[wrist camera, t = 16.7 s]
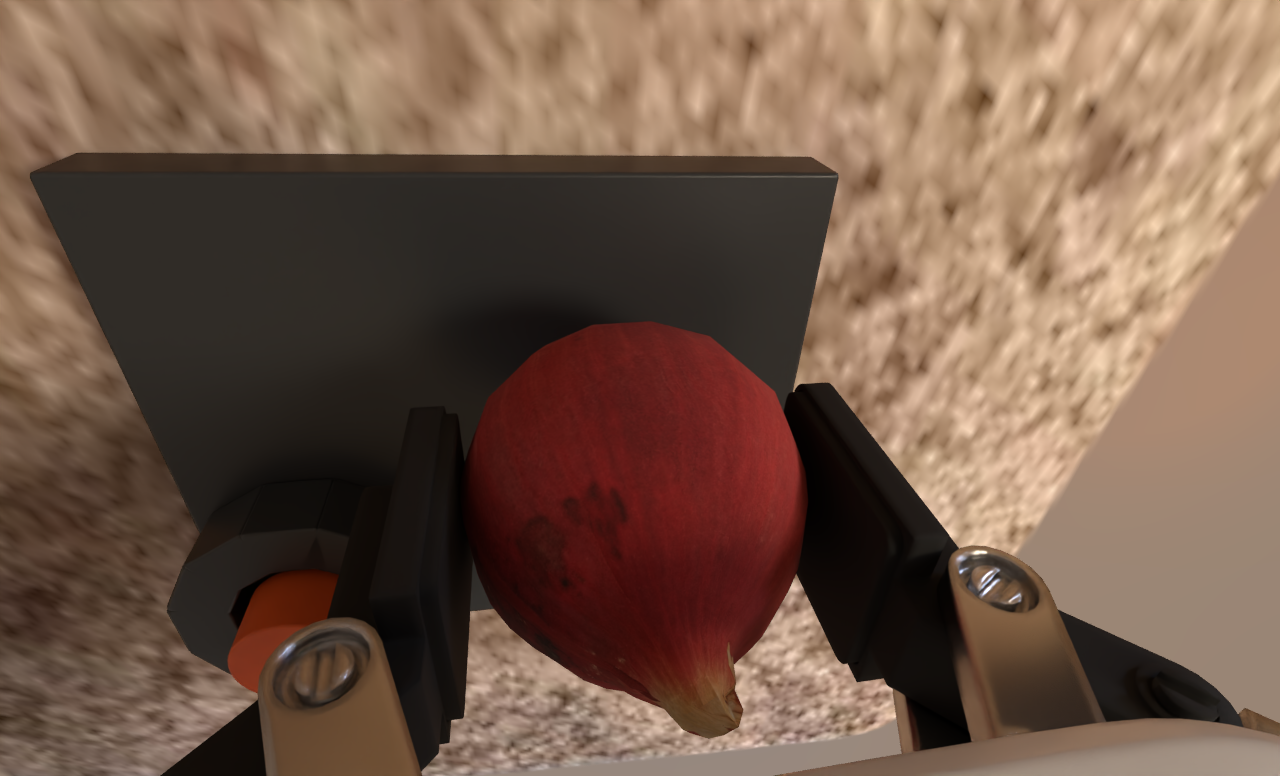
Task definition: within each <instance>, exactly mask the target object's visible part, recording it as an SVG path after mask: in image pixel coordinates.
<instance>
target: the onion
mask: <svg viewBox="0 0 1280 776" xmlns="http://www.w3.org/2000/svg"><path fill="white" fill-rule="evenodd" d="M460 502H461V509H462V517H463V523H464V527H465V531H466V534H467V538H468V542H469V545H470V549H471V553H472V556H473V560H474V564H475V567H476V571H477V574H478V577H479V579H480V581H481V583H482V586H483V588H484V590H485V593H486V595H487V597H488V599H489V602H490V604H491V605H492V607H493V608H494V609H495V610H496V612H497V613H498V614H499V615H500V616H501V618H502V619H503V620H504V621H505V623H506V624H507V625H508V626H509V628H510V629H512V630H513V631H514V632H515V633H516V634H518V635H519V636H520V637H521V638H523V639H524V640H525V641H526V642H527V643H529V644H530V645H531V646H532V647H534V648H535V649H537V650H538V651H540V652H542V653H543V654H545V655H546V656H548V657H549V658H551V659H553V660H554V661H556V662H557V663H559V664H560V665H562V666H563V667H565V668H566V669H568V670H569V671H571V672H572V673H574V674H575V675H577V676H578V677H580V678H581V679H583V680H584V681H587V682H590V683H593V684H595V685H598V686H601V687H603V688H606V689H612V690H619V691H625V692H626V693H628V694H630V695H632V696H633V697H635V698H638V699H640V700H643V701H645V702H648V703H650V704H653V705H656V706H658V707H661V708H663V709H665V710H666V711H667V712H668V714H669V715H670V716H671V717H672V718H673V719H674V720H675V721H676V722H677V723H678V725H679V726H680V727H681V728H682V729H683V730H685V731H687V732H689V733H692V734H695V735H699V736H702V737H705V738H708V739H709V738H713V737H718V736H722V735H725V734H727V733H728V732H730V731H732V730H734V729H736V728H738V727H739V724H740V720H741V717H742V713H743V708H742V706H741V703H740V701H739V699H738V696H737V694H736V692H735V685H736V679H735V671H734V664H735V663H736V662H737V661H738V660H739V659H740V658H741V657H742V656H744V655H745V654H746V653H747V652H748V651H749V650H750V649H751V648H752V647H753V646H754V645H755V644H756V643H757V641H758V640H759V639H760V638H761V637H762V636H763V634H764V632H765V631H766V629H767V627H768V626H769V624H770V622H771V620H772V619H773V617H774V615H775V613H776V612H777V610H778V608H779V606H780V605H781V603H782V601H783V600H784V598H785V596H786V594H787V593H788V591H789V588H790V586H791V584H792V582H793V579H794V577H795V575H796V572H797V570H798V565H799V560H800V555H801V550H802V544H803V537H804V530H805V522H806V515H807V508H808V492H807V480H806V471H805V468H804V465H803V462H802V459H801V456H800V453H799V450H798V447H797V444H796V442H795V439H794V437H793V434H792V432H791V429H790V427H789V425H788V422H787V420H786V417H785V415H784V412H783V410H782V408H781V405H780V403H779V400H778V398H777V396H776V393H775V391H774V390H772V389H771V388H770V387H769V386H768V385H767V384H765V383H764V382H763V381H762V380H761V379H760V378H758V377H757V376H756V375H755V374H754V373H753V372H751V371H750V370H749V369H748V368H747V367H746V366H744V365H743V364H742V363H741V362H740V361H739V360H737V359H736V358H735V357H734V356H733V355H732V354H730V353H729V352H728V351H727V350H726V349H724V348H723V347H722V346H721V345H720V344H718V343H717V342H716V341H715V340H714V339H712V338H711V337H710V336H707V335H703V334H699V333H695V332H691V331H687V330H684V329H680V328H676V327H672V326H668V325H664V324H660V323H656V322H652V321H647V322H630V323H613V324H596V325H591V326H589V327H586V328H584V329H582V330H579V331H577V332H575V333H572V334H570V335H568V336H566V337H563V338H561V339H559V340H556V341H554V342H552V343H549V344H547V345H545V346H544V347H542V348H541V349H539V350H538V351H536V352H535V353H534V354H532V355H531V356H530V357H529V358H528V359H527V360H526V361H525V362H524V363H523V364H522V365H521V366H520V367H519V368H518V369H517V370H516V371H515V372H514V373H513V374H512V375H511V376H510V377H509V378H508V379H507V380H506V381H505V382H504V383H503V384H502V385H501V386H500V387H499V388H498V389H497V390H496V391H494V392H493V393H492V394H491V395H490V396H489V397H488V399H487V402H486V405H485V407H484V410H483V413H482V415H481V418H480V421H479V423H478V426H477V429H476V431H475V434H474V437H473V439H472V442H471V444H470V447H469V450H468V453H467V457H466V460H465V464H464V467H463V471H462V475H461V479H460Z"/></svg>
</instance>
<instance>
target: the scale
mask: <svg viewBox="0 0 1280 776" xmlns="http://www.w3.org/2000/svg"><path fill="white" fill-rule="evenodd" d="M30 179H31V181H32V183H33V185H34V187H35V189H36V192H37V194H38V196H39V198H40V200H41V202H42V204H43V206H44V208H45V210H46V213H47V215H48V217H49V219H50V221H51V223H52V225H53V227H54V229H55V231H56V234H57V236H58V238H59V240H60V242H61V244H62V246H63V248H64V250H65V252H66V254H67V257H68V259H69V261H70V263H71V265H72V267H73V269H74V271H75V273H76V275H77V278H78V280H79V282H80V284H81V286H82V288H83V290H84V292H85V294H86V296H87V299H88V301H89V303H90V305H91V307H92V309H93V311H94V313H95V315H96V317H97V320H98V322H99V324H100V326H101V328H102V330H103V332H104V334H105V336H106V338H107V340H108V343H109V345H110V347H111V349H112V351H113V353H114V355H115V357H116V359H117V361H118V364H119V366H120V368H121V370H122V372H123V374H124V376H125V378H126V380H127V382H128V385H129V387H130V389H131V391H132V393H133V395H134V397H135V399H136V401H137V403H138V406H139V408H140V410H141V412H142V414H143V416H144V418H145V420H146V422H147V424H148V426H149V429H150V431H151V433H152V435H153V437H154V439H155V441H156V443H157V445H158V447H159V450H160V452H161V454H162V456H163V458H164V460H165V462H166V464H167V466H168V468H169V471H170V473H171V475H172V477H173V479H174V481H175V483H176V485H177V487H178V489H179V491H180V494H181V496H182V498H183V500H184V502H185V504H186V506H187V508H188V510H189V512H190V515H191V517H192V519H193V521H194V523H195V525H196V527H197V529H198V531H199V533H200V535H199V537H198V539H197V541H196V542H195V544H194V546H193V548H192V550H191V552H190V553H189V555H188V557H187V559H186V561H185V563H184V564H183V566H182V569H181V571H180V574H179V576H178V579H177V582H176V584H175V587H174V589H173V592H172V595H171V597H170V600H169V602H168V605H167V613H168V615H169V617H170V619H171V620H172V622H173V624H174V626H175V627H176V629H177V631H178V633H179V634H180V636H181V638H182V640H183V641H184V643H185V645H186V647H187V648H188V650H189V651H191V653H192V654H194V655H195V656H197V657H199V658H201V659H203V660H205V661H207V662H208V663H210V664H212V665H214V666H216V667H218V668H220V669H221V670H223V671H225V672H227V673H229V674H231V673H230V671H229V668H228V655H229V652H230V649H231V647H232V644H233V642H234V639H235V637H236V634H237V632H238V629H239V627H240V625H241V622H242V620H243V617H244V615H245V612H246V610H247V607H248V605H249V603H250V600H251V598H252V595H253V593H254V591H255V590H256V588H257V587H258V586H259V585H260V584H261V583H262V582H264V581H265V580H266V579H268V578H269V577H271V576H273V575H275V574H277V573H280V572H287V571H297V570H307V569H317V570H321V571H325V572H329V573H334V574H338V575H339V573H340V569H341V565H342V562H343V558H344V555H345V551H346V547H347V544H348V540H349V536H350V533H351V529H352V526H353V522H354V518H355V515H356V511H357V508H358V504H359V500H360V497H361V494H362V492H363V490H364V489H365V488H366V487H371V486H383V485H393V484H394V479H395V475H396V470H397V466H398V461H399V457H400V452H401V447H402V443H403V438H404V434H405V429H406V425H407V420H408V416H409V412H410V409H411V408H416V407H433V406H444V407H445V409H446V414H453V413H457V414H458V418H459V425H460V432H461V439H462V446H463V454H464V461H465V460H466V457H467V453H468V450H469V447H470V444H471V442H472V439H473V437H474V434H475V431H476V429H477V426H478V423H479V421H480V418H481V415H482V413H483V410H484V407H485V405H486V402H487V399H488V397H489V396H490V395H491V394H492V393H493V392H494V391H496V390H497V389H498V388H499V387H500V386H501V385H502V384H503V383H504V382H505V381H506V380H507V379H508V378H509V377H510V376H511V375H512V374H513V373H514V372H515V371H516V370H517V369H518V368H519V367H520V366H521V365H522V364H523V363H524V362H525V361H526V360H527V359H528V358H529V357H530V356H531V355H532V354H534V353H535V352H536V351H538V350H539V349H541V348H542V347H544V346H545V345H547V344H549V343H552V342H554V341H556V340H559V339H561V338H563V337H566V336H568V335H570V334H572V333H575V332H577V331H579V330H582V329H584V328H586V327H589V326H591V325H596V324H613V323H630V322H647V321H652V322H656V323H660V324H664V325H668V326H672V327H676V328H680V329H684V330H687V331H691V332H695V333H699V334H703V335H707V336H710V337H711V338H712V339H714V340H715V341H716V342H717V343H718V344H720V345H721V346H722V347H723V348H724V349H726V350H727V351H728V352H729V353H730V354H732V355H733V356H734V357H735V358H736V359H737V360H739V361H740V362H741V363H742V364H743V365H744V366H746V367H747V368H748V369H749V370H750V371H751V372H753V373H754V374H755V375H756V376H757V377H758V378H760V379H761V380H762V381H763V382H764V383H765V384H767V385H768V386H769V387H770V388H771V389H772V390H774V391H775V393H776V396H777V398H778V400H779V403H780V405H781V408H782V410H783V411H784V407H785V402H786V398H787V395H788V394H789V393H790V392H793V387H794V383H795V378H796V373H797V369H798V364H799V359H800V355H801V350H802V345H803V341H804V336H805V331H806V327H807V322H808V317H809V313H810V308H811V303H812V298H813V294H814V289H815V284H816V280H817V275H818V270H819V266H820V261H821V256H822V252H823V247H824V242H825V238H826V233H827V228H828V224H829V219H830V214H831V210H832V205H833V200H834V196H835V191H836V186H837V182H838V173H836V172H835V171H833V170H831V169H830V168H828V167H827V166H825V165H823V164H822V163H820V162H818V161H817V160H815V159H814V158H812V157H723V156H537V155H351V154H164V153H76V154H74V155H71V156H69V157H66V158H64V159H62V160H59V161H57V162H55V163H52V164H50V165H48V166H45V167H43V168H40V169H38V170H36V171H33V172H31V173H30ZM486 609H494V608H493V607H492V605H491V604H490V602H489V599H488V597H487V595H486V593H485V590H484V588H483V586H482V583H481V581H480V579H479V577H478V574H477V571H476V567H475V564H474V560H473V569H472V587H471V605H470V611H478V610H486ZM231 675H232V674H231Z"/></svg>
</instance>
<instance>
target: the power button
mask: <svg viewBox="0 0 1280 776" xmlns="http://www.w3.org/2000/svg"><path fill="white" fill-rule="evenodd" d="M338 576H339V575H338V574H334V573H329V572H325V571H321V570H317V569H307V570H297V571H287V572H280V573H277V574H275V575H273V576H271V577H269V578H268V579H266V580H265V581H264V582H262V583H261V584H260V585H259V586H258V587H257V588H256V590H255V591H254V593H253V595H252V598H251V600H250V603H249V605H248V607H247V610H246V612H245V615H244V617H243V620H242V622H241V625H240V627H239V629H238V632H237V634H236V637H235V639H234V642H233V644H232V647H231V649H230V652H229V655H228V668H229V671H230V673H231V674H232V676H233V677H234V678H235V680H236V681H237V682H239V683H240V684H241V685H242V686H244V687H246V688H247V689H249V690H251V691H253V692H256V693H257V692H258V682H259V675H260V673H261V671H262V669H263V667H264V665H265V662H266V660H267V659H268V658H269V656H270V655H271V654H272V653H273V652H274V650H275V649H276V648H277V647H278V646H279V644H281V643H282V642H283V641H284V640H286V639H287V638H288V637H290V636H291V635H292V634H293V633H295V632H296V631H298V630H300V629H302V628H304V627H306V626H308V625H310V624H312V623H314V622H318V621H322V620H325V619H327V616H328V612H329V609H330V605H331V601H332V598H333V594H334V591H335V587H336V583H337V580H338Z"/></svg>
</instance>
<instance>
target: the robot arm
mask: <svg viewBox="0 0 1280 776" xmlns="http://www.w3.org/2000/svg"><path fill="white" fill-rule="evenodd" d="M783 412H784V415H785V417H786V420H787V422H788V425H789V427H790V429H791V432H792V434H793V437H794V439H795V442H796V444H797V447H798V450H799V453H800V456H801V459H802V462H803V465H804V468H805V471H806V480H807V492H808V508H807V515H806V522H805V530H804V537H803V544H802V550H801V555H800V560H799V565H798V570H797V572H796V574H797V576H798V578H799V580H800V582H801V584H802V586H803V588H804V591H805V593H806V595H807V597H808V599H809V601H810V603H811V605H812V607H813V609H814V611H815V614H816V616H817V618H818V620H819V622H820V624H821V626H822V628H823V630H824V632H825V634H826V637H827V639H828V641H829V643H830V645H831V647H832V649H833V651H834V653H835V655H836V657H837V659H838V660H839V661H840V662H841V663H843V664H847V663H848V665H849V667H850V669H851V671H852V673H853V675H854V677H855V679H856V681H857V682H861V681H868V680H875V679H882V678H884V680H885V682H886V684H887V685H888V686H889V687H891V688H893V698H894V705H895V712H896V718H897V725H898V731H899V738H900V746H901V752H902V754H898V755H892V756H887V757H880V758H874V759H868V760H862V761H856V762H851V763H845V764H839V765H833V766H827V767H822V768H816V769H810V770H804V771H798V772H793V773H786V774H780V775H775V776H1280V723H1278V722H1275V721H1273V720H1271V719H1269V718H1266V717H1264V716H1262V715H1260V714H1258V713H1255V712H1253V711H1251V710H1249V709H1246V708H1245V709H1243V710H1242V711H1241V712H1240V713H1239V714H1237V712H1236V711H1235V709H1234V708H1233V706H1232V705H1231V703H1230V702H1229V701H1228V700H1227V699H1226V698H1225V697H1224V696H1223V695H1222V694H1221V693H1220V692H1219V691H1218V690H1217V689H1216V688H1215V687H1214V686H1212V685H1211V684H1210V683H1208V682H1207V681H1206V680H1204V679H1203V678H1202V677H1200V676H1199V675H1197V674H1196V673H1194V672H1192V671H1190V670H1188V669H1186V668H1185V667H1183V666H1181V665H1179V664H1177V663H1175V662H1172V661H1170V660H1168V659H1166V658H1164V657H1162V656H1159V655H1157V654H1155V653H1153V652H1150V651H1148V650H1146V649H1144V648H1141V647H1139V646H1137V645H1135V644H1133V643H1131V642H1128V641H1126V640H1124V639H1121V638H1119V637H1117V636H1115V635H1113V634H1111V633H1108V632H1106V631H1104V630H1102V629H1100V628H1097V627H1095V626H1093V625H1091V624H1088V623H1086V622H1084V621H1082V620H1080V619H1077V618H1075V617H1073V616H1071V615H1068V614H1066V613H1064V612H1062V611H1060V610H1058V609H1057V607H1056V605H1055V602H1054V600H1053V598H1052V595H1051V593H1050V591H1049V589H1048V587H1047V586H1046V584H1045V583H1044V581H1043V579H1042V578H1041V577H1040V576H1039V575H1038V574H1037V573H1036V572H1035V571H1034V570H1033V569H1032V568H1031V567H1030V566H1028V565H1027V564H1025V563H1024V562H1022V561H1021V560H1019V559H1018V558H1016V557H1014V556H1012V555H1010V554H1008V553H1006V552H1004V551H1001V550H998V549H994V548H990V547H987V546H968V547H963V548H960V549H959V548H958V547H957V545H956V544H955V543H954V542H953V540H952V539H951V538H950V536H949V534H948V533H947V532H946V530H945V529H944V528H943V527H942V525H941V524H940V523H939V521H938V520H937V519H936V518H935V516H934V515H933V514H932V512H931V511H930V510H929V509H928V507H927V506H926V505H925V504H924V502H923V501H922V500H921V498H920V497H919V496H918V495H917V493H916V492H915V491H914V489H913V488H912V487H911V486H910V484H909V483H908V482H907V480H906V479H905V478H904V477H903V475H902V474H901V473H900V472H899V470H898V469H897V468H896V466H895V465H894V464H893V463H892V461H891V460H890V459H889V457H888V456H887V455H886V454H885V452H884V451H883V450H882V448H881V447H880V446H879V445H878V443H877V442H876V441H875V440H874V438H873V437H872V436H871V434H870V433H869V432H868V431H867V429H866V428H865V427H864V425H863V424H862V423H861V422H860V420H859V419H858V418H857V416H856V415H855V414H854V413H853V411H852V410H851V409H850V407H849V406H848V405H847V404H846V402H845V401H844V400H843V399H842V397H841V396H840V395H839V393H838V392H837V391H836V390H835V388H834V387H833V386H832V385H831V384H830V383H812V384H800V385H798V386H797V388H796V389H795V392H790V393H789V394H788V395H787V398H786V402H785V407H784V411H783ZM464 464H465V461H464V454H463V446H462V439H461V432H460V425H459V418H458V414H457V413H453V414H446V409H445V407H444V406H433V407H416V408H411V409H410V412H409V416H408V420H407V425H406V429H405V434H404V438H403V443H402V447H401V452H400V457H399V461H398V466H397V470H396V475H395V479H394V484H393V485H383V486H371V487H366V488H365V489H364V490H363V492H362V494H361V497H360V500H359V504H358V508H357V511H356V515H355V518H354V522H353V526H352V529H351V533H350V536H349V540H348V544H347V547H346V551H345V555H344V558H343V562H342V565H341V569H340V573H339V576H338V580H337V583H336V587H335V591H334V594H333V598H332V601H331V605H330V609H329V612H328V616H327V619H325V620H322V621H318V622H314V623H312V624H310V625H308V626H306V627H304V628H302V629H300V630H298V631H296V632H295V633H293V634H292V635H291V636H290V637H288V638H287V639H286V640H284V641H283V642H282V643H281V644H279V646H278V647H277V648H276V649H275V650H274V652H273V653H272V654H271V655H270V656H269V658H268V659H267V660H266V662H265V665H264V667H263V669H262V671H261V673H260V675H259V682H258V692H257V693H258V700H257V701H256V702H255V703H253V704H252V705H251V706H250V707H248V708H247V709H246V710H244V711H243V712H242V713H241V714H239V715H238V716H237V717H235V718H234V719H233V720H232V721H230V722H229V723H228V724H226V725H225V726H224V727H223V728H221V729H220V730H219V731H217V732H216V733H215V734H213V735H212V736H211V737H210V738H208V739H207V740H206V741H204V742H203V743H202V744H201V745H199V746H198V747H197V748H195V749H194V750H193V751H192V752H190V753H189V754H188V755H186V756H185V757H184V758H183V759H181V760H180V761H179V762H177V763H176V764H175V765H174V766H172V767H171V768H170V769H168V770H167V771H166V772H165V773H163V774H162V775H161V776H422V773H421V771H422V770H423V769H424V768H425V767H426V766H427V765H428V764H429V763H430V762H431V761H432V760H433V758H434V757H435V756H436V755H437V754H438V753H439V744H445V743H449V741H450V728H451V720H455V719H462V718H463V717H464V709H465V693H466V675H467V658H468V640H469V622H470V605H471V587H472V569H473V556H472V553H471V549H470V545H469V542H468V538H467V534H466V531H465V527H464V523H463V517H462V509H461V502H460V479H461V475H462V471H463V467H464Z"/></svg>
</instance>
